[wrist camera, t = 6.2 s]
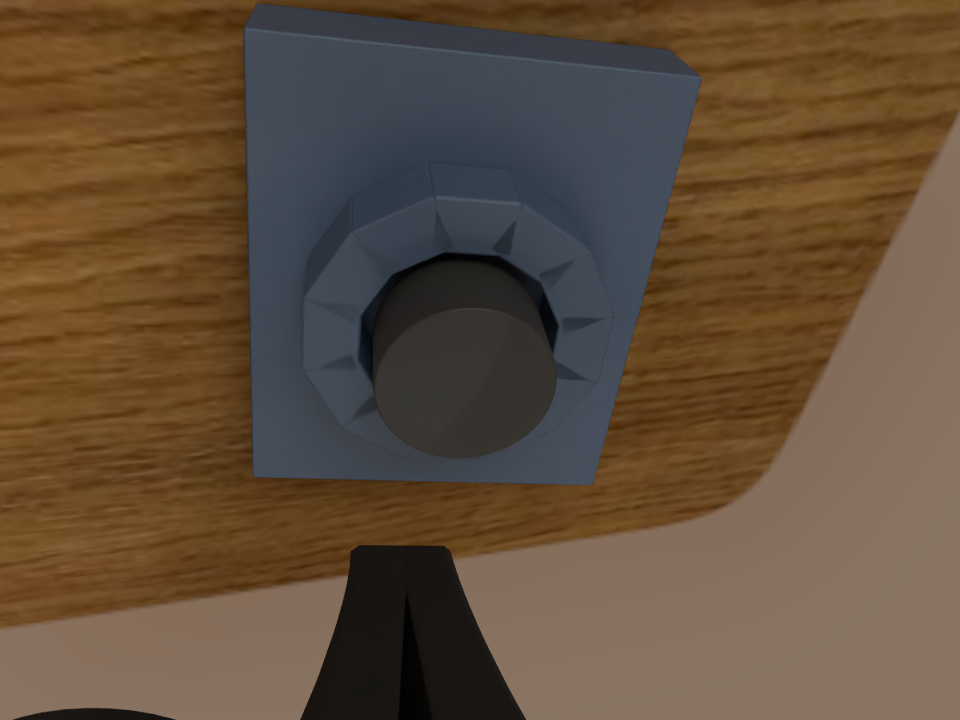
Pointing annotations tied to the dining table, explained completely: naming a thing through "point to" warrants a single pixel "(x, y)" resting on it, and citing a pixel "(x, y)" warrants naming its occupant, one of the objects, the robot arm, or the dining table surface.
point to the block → (444, 220)
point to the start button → (461, 359)
